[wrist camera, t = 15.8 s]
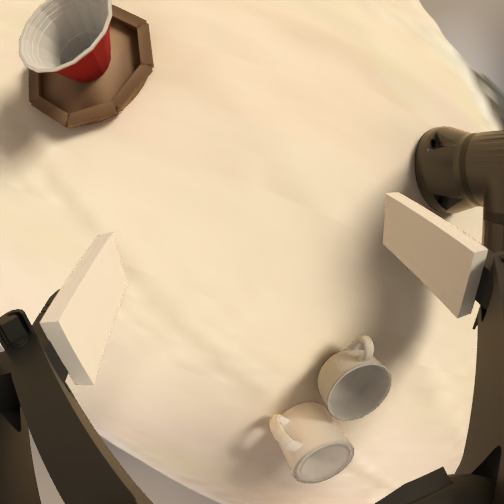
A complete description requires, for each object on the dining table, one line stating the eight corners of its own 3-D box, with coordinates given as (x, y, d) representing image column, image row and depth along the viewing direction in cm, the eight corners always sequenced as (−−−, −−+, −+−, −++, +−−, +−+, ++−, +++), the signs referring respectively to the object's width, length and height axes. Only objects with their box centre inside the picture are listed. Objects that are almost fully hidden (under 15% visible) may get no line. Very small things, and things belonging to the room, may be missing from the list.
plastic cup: (57, 37, 30) (27, -3, 18) (131, 25, 32) (119, -25, 20) (48, 107, 32) (7, 81, 20) (125, 96, 34) (106, 60, 22)
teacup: (353, 395, 52) (375, 419, 44) (300, 395, 49) (319, 424, 41) (380, 325, 50) (409, 344, 42) (326, 319, 47) (352, 341, 39)
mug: (247, 430, 48) (262, 474, 38) (282, 388, 48) (306, 429, 38) (304, 448, 52) (325, 486, 42) (338, 411, 52) (366, 446, 41)
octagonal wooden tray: (146, 4, 33) (145, -9, 29) (159, 106, 36) (158, 98, 33) (36, 38, 30) (27, 28, 26) (39, 141, 33) (28, 137, 30)
